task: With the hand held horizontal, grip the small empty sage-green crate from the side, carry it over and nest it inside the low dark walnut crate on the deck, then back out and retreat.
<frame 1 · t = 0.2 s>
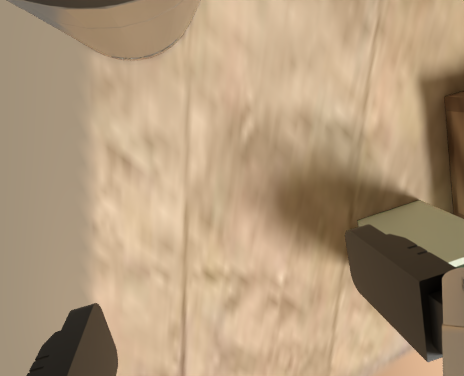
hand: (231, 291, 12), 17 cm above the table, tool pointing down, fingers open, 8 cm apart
small crate: (392, 235, 33), on the table
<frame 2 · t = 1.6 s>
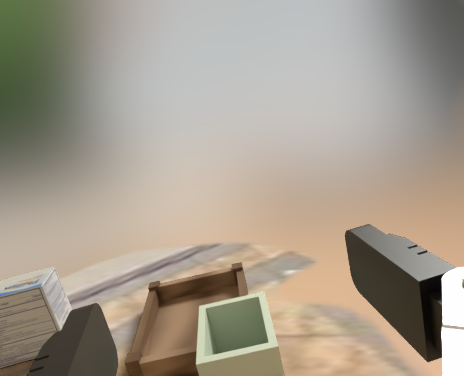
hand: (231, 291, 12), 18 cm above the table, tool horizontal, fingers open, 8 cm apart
walnut crate: (199, 327, 40), on the table
medicine box: (42, 348, 43), on the table
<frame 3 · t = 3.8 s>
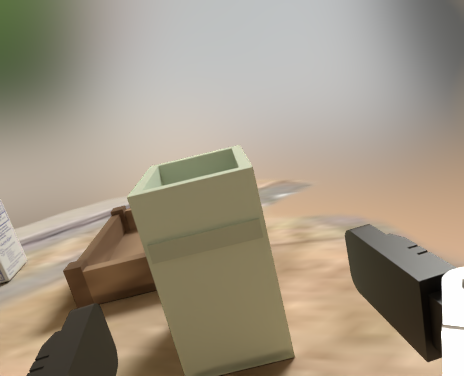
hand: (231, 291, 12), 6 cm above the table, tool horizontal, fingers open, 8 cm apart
walnut crate: (169, 248, 32), on the table
small crate: (236, 328, 19), on the table
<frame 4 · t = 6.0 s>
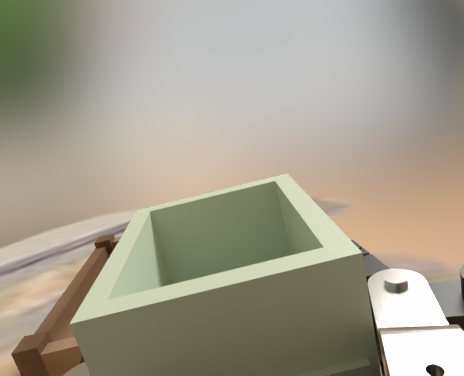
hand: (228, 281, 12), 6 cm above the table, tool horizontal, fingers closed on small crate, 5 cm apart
walnut crate: (169, 298, 24), on the table
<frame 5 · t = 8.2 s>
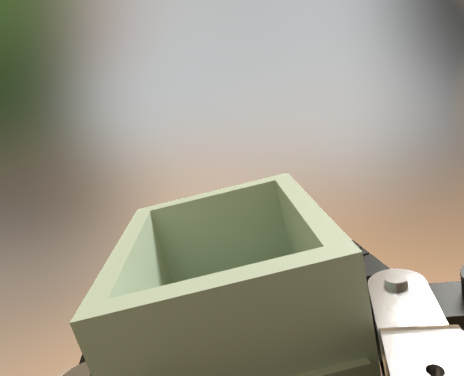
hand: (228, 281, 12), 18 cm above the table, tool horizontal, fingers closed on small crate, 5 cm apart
when the fingers open (8 cm above the table, at t = 10.7 s): small crate drops 1 cm, resting on walnut crate.
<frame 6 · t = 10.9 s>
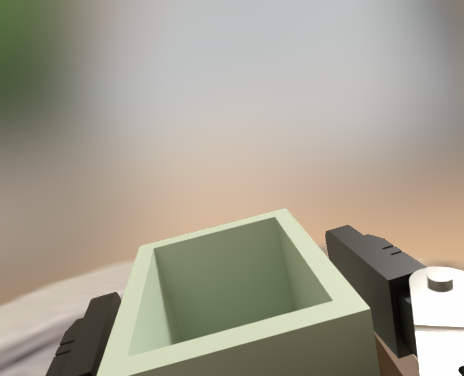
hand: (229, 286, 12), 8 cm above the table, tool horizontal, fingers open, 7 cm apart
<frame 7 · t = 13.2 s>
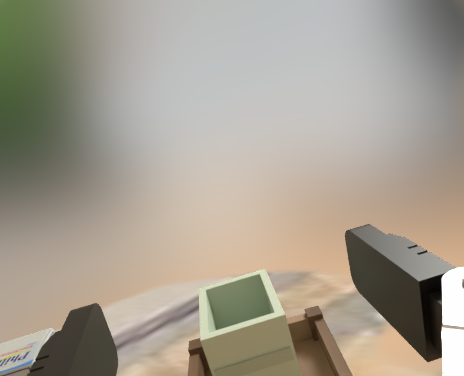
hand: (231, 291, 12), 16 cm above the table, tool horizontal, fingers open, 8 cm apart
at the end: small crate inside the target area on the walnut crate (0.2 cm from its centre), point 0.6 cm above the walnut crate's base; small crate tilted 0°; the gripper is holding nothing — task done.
